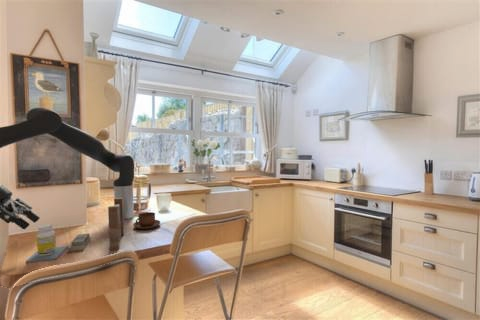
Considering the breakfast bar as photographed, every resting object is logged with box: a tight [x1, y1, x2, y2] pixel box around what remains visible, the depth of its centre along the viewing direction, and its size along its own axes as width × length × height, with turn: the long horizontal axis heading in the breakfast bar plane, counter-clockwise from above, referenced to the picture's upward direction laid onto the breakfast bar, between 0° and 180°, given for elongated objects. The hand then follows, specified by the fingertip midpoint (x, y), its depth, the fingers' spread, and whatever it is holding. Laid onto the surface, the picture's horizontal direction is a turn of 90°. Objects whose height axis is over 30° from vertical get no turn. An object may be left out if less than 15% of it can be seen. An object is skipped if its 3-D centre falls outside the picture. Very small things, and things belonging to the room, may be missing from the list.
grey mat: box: [25, 245, 68, 264], centre depth 97 cm, size 11×9×1 cm
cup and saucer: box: [132, 211, 161, 230], centre depth 128 cm, size 12×12×6 cm
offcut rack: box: [67, 197, 125, 253], centre depth 106 cm, size 17×17×16 cm
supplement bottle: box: [36, 223, 57, 256], centre depth 96 cm, size 5×5×10 cm
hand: (32, 223), depth 94 cm, fingers open, 8 cm apart
